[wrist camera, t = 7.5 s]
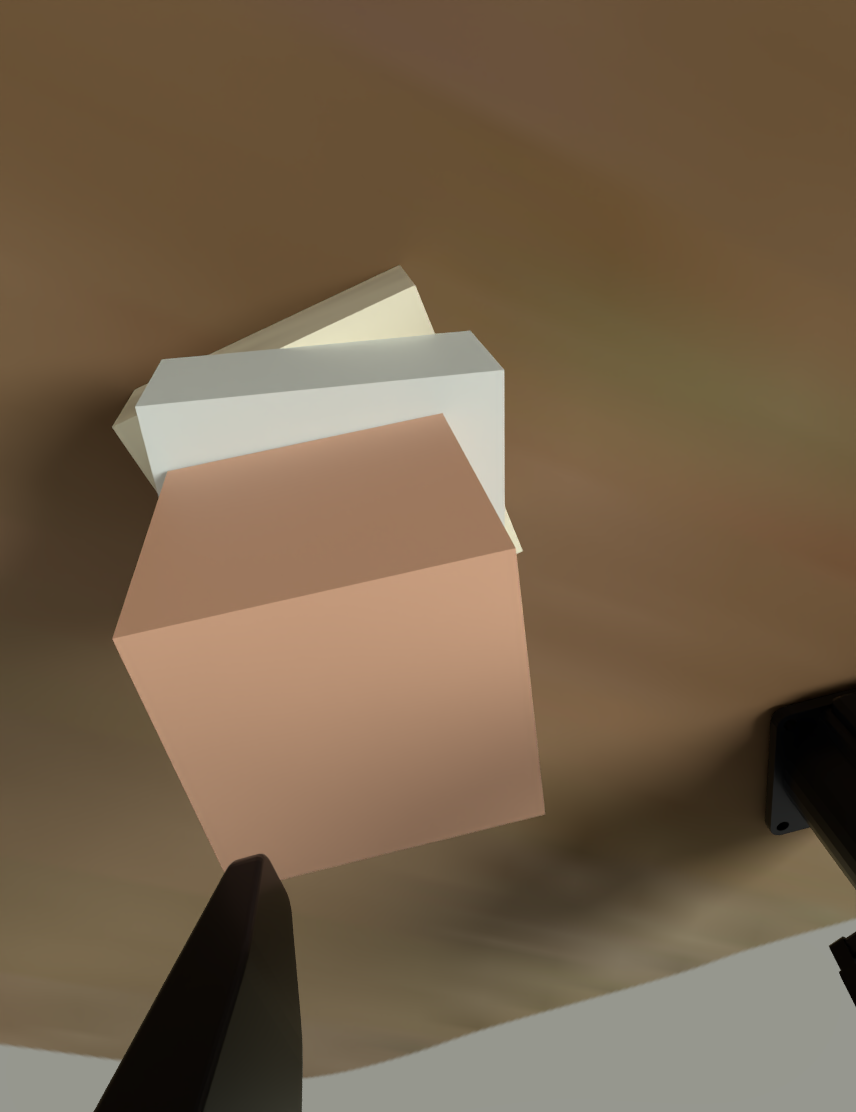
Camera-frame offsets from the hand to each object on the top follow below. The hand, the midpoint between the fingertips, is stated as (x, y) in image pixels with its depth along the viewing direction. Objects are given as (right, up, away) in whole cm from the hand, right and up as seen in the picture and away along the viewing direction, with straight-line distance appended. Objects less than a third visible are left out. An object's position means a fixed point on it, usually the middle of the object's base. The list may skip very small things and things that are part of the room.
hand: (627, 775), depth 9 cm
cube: (-4, +3, +6) cm, 7 cm away
